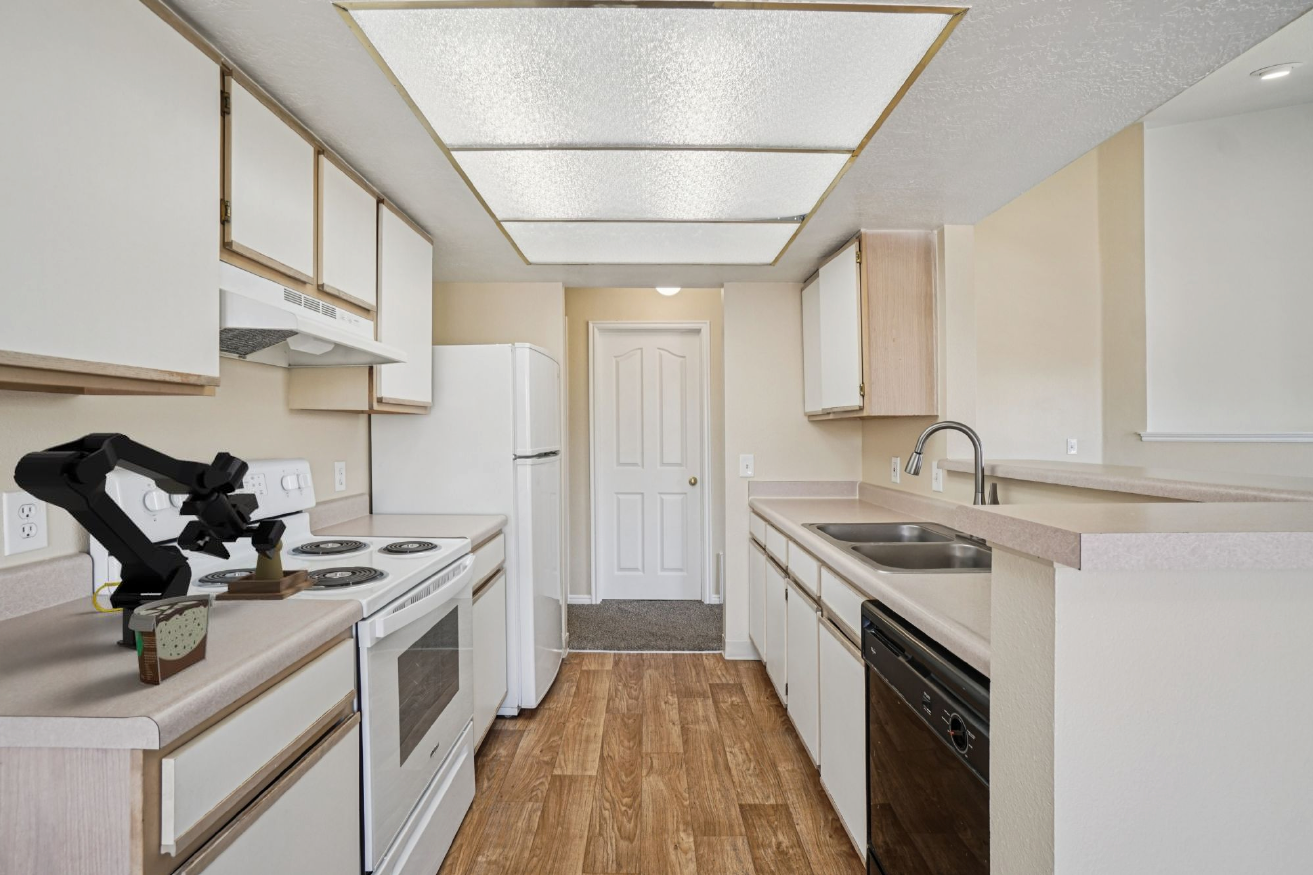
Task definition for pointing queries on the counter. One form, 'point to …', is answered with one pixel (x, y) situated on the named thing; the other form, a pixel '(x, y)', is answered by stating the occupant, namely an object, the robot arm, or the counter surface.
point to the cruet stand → (267, 586)
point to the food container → (171, 636)
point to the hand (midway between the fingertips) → (250, 557)
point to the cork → (269, 566)
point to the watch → (108, 583)
